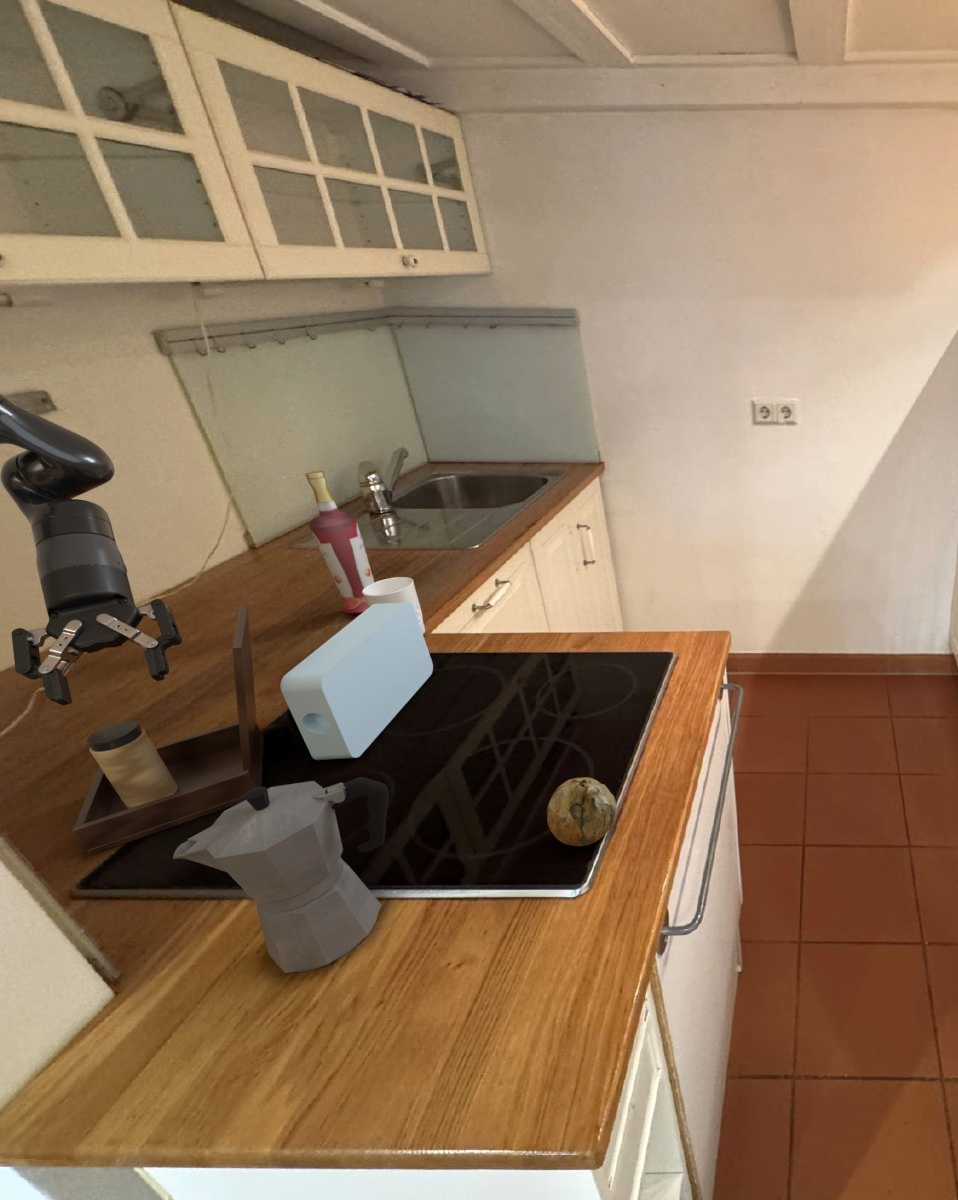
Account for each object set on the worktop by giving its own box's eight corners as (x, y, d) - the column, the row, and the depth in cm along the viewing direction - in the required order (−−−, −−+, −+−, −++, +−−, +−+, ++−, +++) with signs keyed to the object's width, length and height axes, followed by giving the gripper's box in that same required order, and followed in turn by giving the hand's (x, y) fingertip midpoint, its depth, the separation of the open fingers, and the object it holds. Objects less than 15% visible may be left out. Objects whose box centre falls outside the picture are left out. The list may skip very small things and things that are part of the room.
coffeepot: (239, 1008, 58) (140, 861, 50) (248, 931, 65) (163, 791, 57) (433, 919, 65) (375, 779, 57) (423, 858, 72) (369, 726, 64)
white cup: (437, 631, 121) (421, 582, 117) (393, 650, 115) (375, 599, 111) (415, 621, 125) (399, 573, 121) (372, 638, 119) (353, 589, 115)
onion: (626, 802, 79) (616, 750, 76) (618, 853, 72) (605, 798, 69) (562, 810, 78) (548, 757, 75) (547, 863, 71) (531, 807, 68)
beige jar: (122, 816, 79) (79, 750, 74) (130, 794, 82) (88, 729, 78) (175, 798, 81) (136, 733, 77) (180, 778, 85) (143, 714, 80)
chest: (89, 856, 74) (71, 831, 72) (115, 785, 85) (100, 762, 83) (261, 796, 82) (248, 772, 81) (264, 739, 93) (253, 717, 91)
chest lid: (232, 648, 75) (241, 647, 76) (239, 604, 86) (247, 604, 87) (242, 770, 80) (251, 769, 81) (248, 715, 91) (256, 714, 91)
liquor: (389, 611, 129) (340, 472, 117) (346, 622, 125) (290, 480, 113) (384, 599, 135) (336, 465, 122) (342, 610, 130) (288, 472, 118)
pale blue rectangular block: (399, 672, 108) (372, 600, 102) (434, 670, 108) (410, 598, 103) (309, 765, 87) (269, 682, 81) (354, 762, 88) (317, 679, 82)
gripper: (-16, 579, 77) (9, 703, 74) (145, 550, 85) (175, 661, 81) (23, 604, 83) (48, 720, 80) (170, 575, 91) (199, 679, 87)
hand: (112, 690), depth 81 cm, fingers open, 8 cm apart
